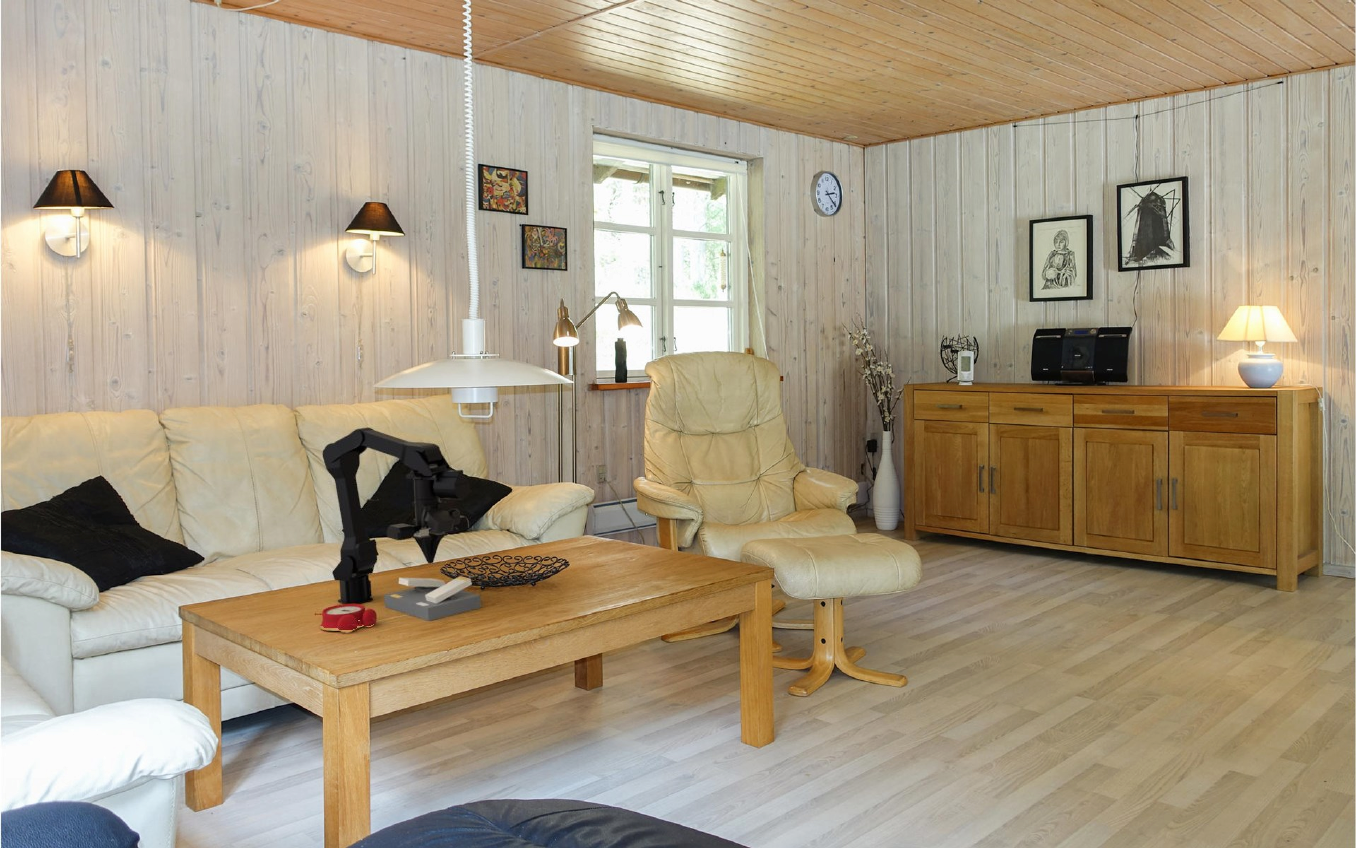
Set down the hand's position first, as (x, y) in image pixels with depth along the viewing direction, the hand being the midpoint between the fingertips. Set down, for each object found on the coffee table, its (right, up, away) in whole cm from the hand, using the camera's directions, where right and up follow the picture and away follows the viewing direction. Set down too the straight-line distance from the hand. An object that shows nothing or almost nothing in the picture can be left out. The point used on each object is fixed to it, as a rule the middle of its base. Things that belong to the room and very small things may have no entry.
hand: (430, 563), depth 240 cm
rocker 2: (+5, -6, -2) cm, 8 cm away
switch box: (0, -11, +2) cm, 11 cm away
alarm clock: (-15, -13, -12) cm, 23 cm away
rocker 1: (-4, -6, +6) cm, 9 cm away
